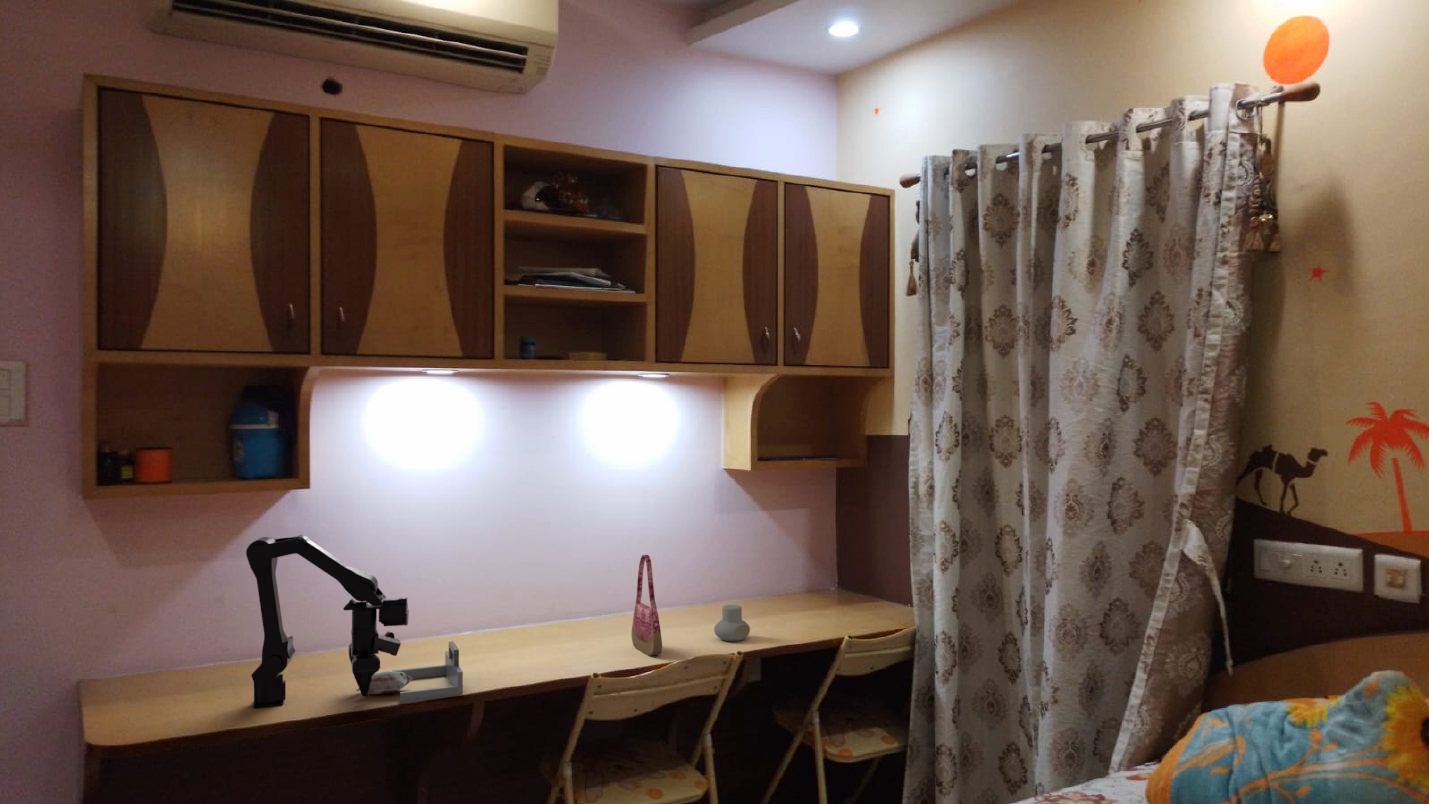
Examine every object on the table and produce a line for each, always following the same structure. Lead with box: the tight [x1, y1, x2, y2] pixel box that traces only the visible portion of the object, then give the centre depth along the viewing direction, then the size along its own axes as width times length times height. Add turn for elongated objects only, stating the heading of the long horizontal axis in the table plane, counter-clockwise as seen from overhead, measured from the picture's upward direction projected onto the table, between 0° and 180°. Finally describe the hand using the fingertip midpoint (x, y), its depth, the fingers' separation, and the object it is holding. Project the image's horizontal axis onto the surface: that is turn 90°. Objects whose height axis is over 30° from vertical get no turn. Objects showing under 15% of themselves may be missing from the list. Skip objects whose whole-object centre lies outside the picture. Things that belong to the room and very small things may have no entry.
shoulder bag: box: [631, 554, 663, 657], centre depth 277 cm, size 17×3×28 cm, turn 27°
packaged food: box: [356, 671, 414, 695], centre depth 236 cm, size 9×12×5 cm
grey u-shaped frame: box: [392, 640, 464, 704], centre depth 241 cm, size 15×21×10 cm
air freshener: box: [713, 604, 751, 643], centre depth 291 cm, size 11×8×10 cm
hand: (363, 690), depth 234 cm, fingers open, 9 cm apart
